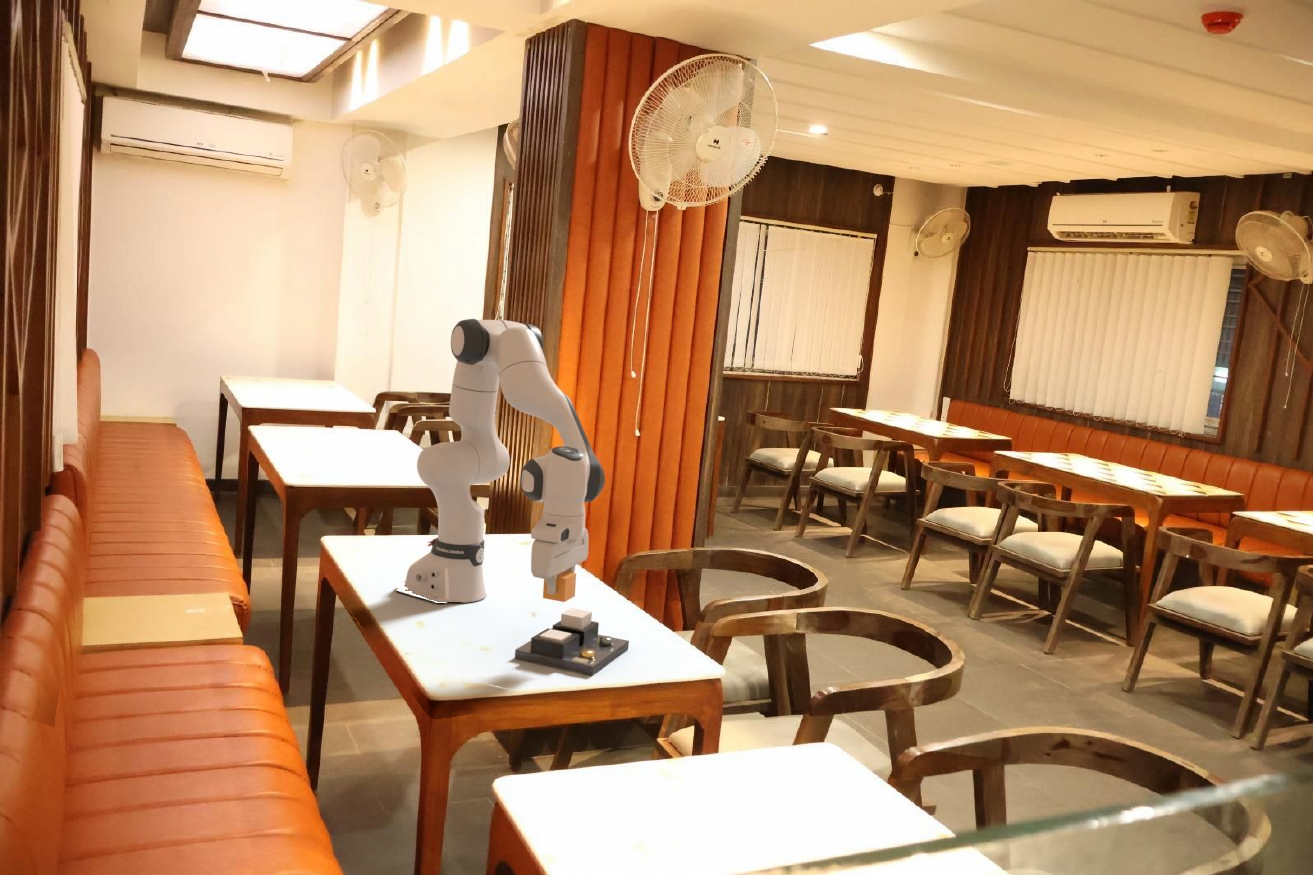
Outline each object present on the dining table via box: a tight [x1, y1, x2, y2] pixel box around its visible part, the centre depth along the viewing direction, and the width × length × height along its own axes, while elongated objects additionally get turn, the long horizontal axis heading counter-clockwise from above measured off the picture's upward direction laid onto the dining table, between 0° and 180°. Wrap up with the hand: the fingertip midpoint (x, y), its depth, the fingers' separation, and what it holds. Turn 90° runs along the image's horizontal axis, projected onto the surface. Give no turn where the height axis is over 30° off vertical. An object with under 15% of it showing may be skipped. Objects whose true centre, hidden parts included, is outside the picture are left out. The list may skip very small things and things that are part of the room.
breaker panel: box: [514, 620, 630, 676], centre depth 229 cm, size 18×19×5 cm
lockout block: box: [542, 571, 577, 603], centre depth 223 cm, size 5×5×5 cm
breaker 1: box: [540, 628, 572, 642], centre depth 225 cm, size 5×5×3 cm
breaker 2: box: [560, 607, 593, 630], centre depth 234 cm, size 5×5×3 cm
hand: (559, 589), depth 224 cm, fingers closed on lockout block, 5 cm apart
